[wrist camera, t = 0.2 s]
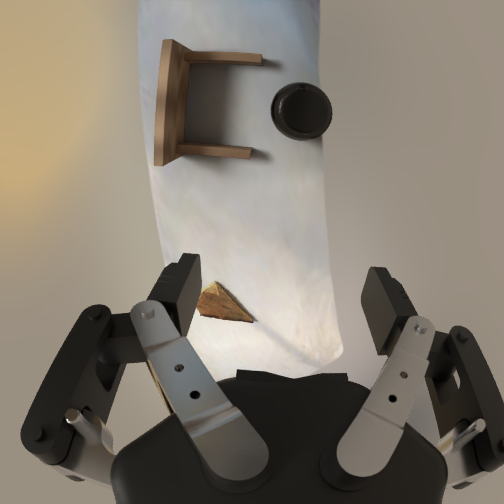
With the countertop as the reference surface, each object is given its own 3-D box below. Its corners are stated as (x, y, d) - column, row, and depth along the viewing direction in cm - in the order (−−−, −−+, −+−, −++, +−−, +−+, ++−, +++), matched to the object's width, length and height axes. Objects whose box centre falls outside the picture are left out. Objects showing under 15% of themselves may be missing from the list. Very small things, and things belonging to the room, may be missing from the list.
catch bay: (183, 51, 31) (162, 39, 24) (263, 53, 31) (259, 39, 24) (175, 154, 39) (153, 165, 32) (250, 161, 39) (244, 173, 32)
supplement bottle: (309, 81, 33) (322, 68, 22) (329, 125, 35) (351, 131, 25) (263, 99, 34) (257, 94, 24) (284, 142, 37) (287, 155, 27)
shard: (254, 317, 53) (253, 324, 51) (224, 332, 56) (222, 338, 54) (217, 277, 49) (215, 283, 48) (187, 296, 52) (184, 302, 50)
